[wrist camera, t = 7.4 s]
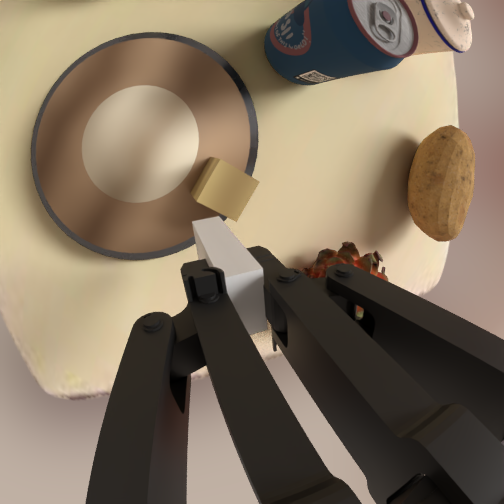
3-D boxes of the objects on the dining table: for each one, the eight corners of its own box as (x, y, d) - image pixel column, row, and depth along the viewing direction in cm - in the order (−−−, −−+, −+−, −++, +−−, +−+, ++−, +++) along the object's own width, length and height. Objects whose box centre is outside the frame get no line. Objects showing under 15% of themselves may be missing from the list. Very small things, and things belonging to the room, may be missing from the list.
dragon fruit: (278, 245, 29) (345, 266, 36) (275, 329, 27) (346, 332, 33) (346, 222, 23) (403, 253, 29) (350, 327, 20) (407, 327, 27)
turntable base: (26, 69, 13) (24, 68, 13) (244, 27, 18) (246, 24, 18) (64, 277, 21) (62, 280, 21) (264, 231, 26) (267, 233, 26)
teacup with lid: (417, 21, 22) (487, 12, 12) (412, 71, 25) (492, 69, 15) (349, -30, 18) (420, -63, 7) (338, 19, 20) (423, -13, 10)
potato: (444, 137, 30) (490, 145, 23) (423, 231, 35) (467, 251, 28) (404, 109, 27) (459, 112, 20) (381, 221, 31) (432, 244, 24)
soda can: (264, 13, 18) (342, -48, 8) (329, 35, 21) (422, 4, 10) (253, 77, 21) (338, 36, 10) (322, 95, 23) (424, 84, 13)
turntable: (19, 197, 17) (-9, 213, 12) (113, 19, 14) (106, -8, 10) (182, 272, 24) (191, 302, 20) (277, 108, 21) (307, 102, 17)
